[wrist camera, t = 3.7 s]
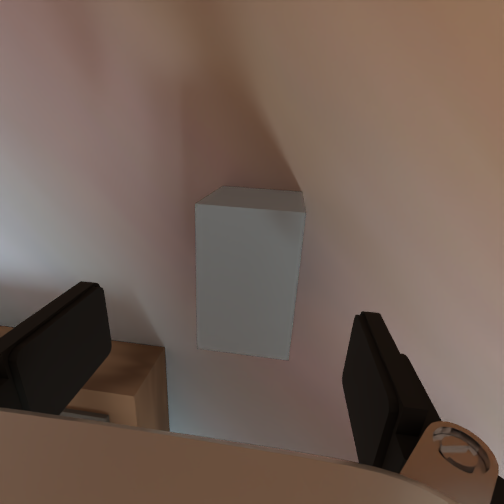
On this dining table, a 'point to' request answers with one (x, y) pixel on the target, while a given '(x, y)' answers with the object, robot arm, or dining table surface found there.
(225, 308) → the block
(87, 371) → the robot arm
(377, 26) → the dining table surface
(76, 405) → the walnut stand
